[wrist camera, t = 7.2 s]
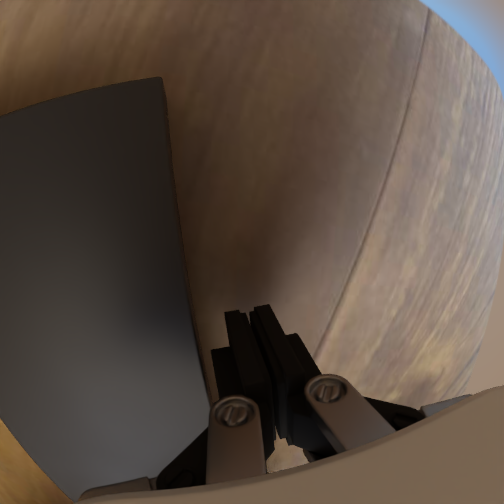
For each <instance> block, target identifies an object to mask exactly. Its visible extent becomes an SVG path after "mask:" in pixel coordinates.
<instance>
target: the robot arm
mask: <svg viewBox="0 0 504 504" xmlns="http://www.w3.org/2000/svg"><path fill="white" fill-rule="evenodd" d="M224 313H225V320H226V327H227V333H228V339H229V345H230V347H224V348H218V349H212V350H211V355H212V361H213V367H214V372H215V378H216V383H217V389H218V394H219V400H218V401H216V402H215V403H214V404H213V405H212V407H211V408H210V412H209V422H208V427H207V428H206V429H205V430H204V431H203V432H202V433H201V434H200V435H199V436H198V437H197V438H196V439H195V440H194V441H193V442H192V443H191V444H190V445H189V446H188V447H187V448H185V449H184V450H183V451H182V452H181V453H180V454H179V455H178V456H177V457H176V458H175V459H174V460H173V461H172V462H171V463H169V464H168V465H167V466H166V467H165V468H164V469H163V470H162V471H161V472H160V474H159V475H158V476H157V477H154V478H150V479H149V478H148V477H147V476H145V477H141V478H137V479H133V480H128V481H124V482H119V483H115V484H110V485H105V486H99V487H94V488H90V489H88V490H86V491H84V492H83V493H82V494H81V495H80V497H79V499H78V502H76V503H74V504H504V386H498V387H494V388H490V389H487V390H484V391H481V392H479V393H476V394H474V395H470V394H468V395H463V396H459V397H456V398H452V399H449V400H445V401H441V402H437V403H434V404H430V405H425V406H421V408H420V410H416V409H413V408H411V407H407V406H402V405H397V404H393V403H388V402H384V401H380V400H376V399H371V398H367V397H363V396H362V395H361V394H360V393H359V392H358V391H357V390H356V389H355V388H354V387H353V386H352V385H351V384H350V383H349V382H348V381H347V380H346V379H345V378H343V377H341V376H338V375H334V374H321V372H320V370H319V369H318V367H317V365H316V364H315V362H314V360H313V359H312V357H311V355H310V354H309V352H308V350H307V348H306V347H305V345H304V343H303V342H302V340H301V338H300V337H299V335H298V334H297V333H294V334H289V335H285V333H284V331H283V329H282V328H281V326H280V324H279V322H278V320H277V318H276V316H275V314H274V312H273V311H272V309H271V307H270V305H269V304H267V305H262V306H256V307H254V311H250V312H249V316H250V323H249V320H248V318H247V315H246V313H240V311H239V310H234V311H229V312H224ZM250 324H251V326H250ZM275 426H276V429H277V432H278V435H279V437H280V439H282V438H286V440H287V443H288V446H289V445H295V446H297V447H300V448H303V452H304V455H305V456H306V458H307V459H308V461H309V462H310V463H308V464H304V465H300V466H297V467H293V468H289V469H285V470H281V471H277V472H273V473H269V474H267V466H266V460H267V459H268V458H269V456H270V455H271V454H272V453H273V451H274V450H275V448H274V440H276V432H275Z"/></svg>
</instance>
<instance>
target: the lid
mask: <svg viewBox="0 0 504 504" xmlns="http://www.w3.org/2000/svg"><path fill="white" fill-rule="evenodd" d="M167 115H168V113H167V101H166V95H165V90H164V85H163V81H162V78H161V77H153V78H146V79H140V80H134V81H128V82H122V83H117V84H112V85H107V86H102V87H98V88H93V89H89V90H85V91H80V92H76V93H72V94H69V95H65V96H61V97H58V98H54V99H50V100H47V101H44V102H40V103H37V104H34V105H31V106H28V107H25V108H22V109H19V110H16V111H13V112H10V113H8V114H5V115H2V116H0V418H1V420H2V421H3V422H4V424H5V425H6V427H7V428H8V429H9V431H10V432H11V433H12V435H13V436H14V437H15V438H16V440H17V441H18V442H19V444H20V445H21V446H22V447H23V448H24V450H25V451H26V452H27V453H28V455H29V456H30V457H31V458H32V459H33V460H34V462H35V463H36V464H37V465H38V466H39V467H40V468H41V469H42V471H43V472H44V473H45V474H46V475H47V476H48V477H49V478H50V479H51V480H52V481H53V482H54V483H55V484H56V485H57V486H58V487H59V488H60V489H61V490H62V491H63V492H64V493H65V494H66V495H67V496H68V497H69V498H70V499H71V500H72V501H73V502H74V503H76V502H78V499H79V497H80V495H81V494H82V493H83V492H84V491H86V490H88V489H90V488H94V487H99V486H105V485H110V484H115V483H119V482H124V481H128V480H133V479H137V478H141V477H145V476H147V477H148V478H149V479H150V478H154V477H157V476H158V475H159V474H160V472H161V471H162V470H163V469H164V468H165V467H166V466H167V465H168V464H169V463H171V462H172V461H173V460H174V459H175V458H176V457H177V456H178V455H179V454H180V453H181V452H182V451H183V450H184V449H185V448H187V447H188V446H189V445H190V444H191V443H192V442H193V441H194V440H195V439H196V438H197V437H198V436H199V435H200V434H201V433H202V432H203V431H204V430H205V429H206V428H207V427H208V422H209V412H210V408H211V407H212V405H213V402H212V398H211V393H210V389H209V384H208V380H207V375H206V370H205V366H204V361H203V356H202V351H201V346H200V341H199V336H198V331H197V325H196V320H195V315H194V309H193V304H192V298H191V292H190V286H189V280H188V274H187V268H186V262H185V255H184V249H183V242H182V235H181V228H180V221H179V214H178V206H177V199H176V191H175V182H174V174H173V165H172V155H171V146H170V136H169V125H168V118H167Z"/></svg>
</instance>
